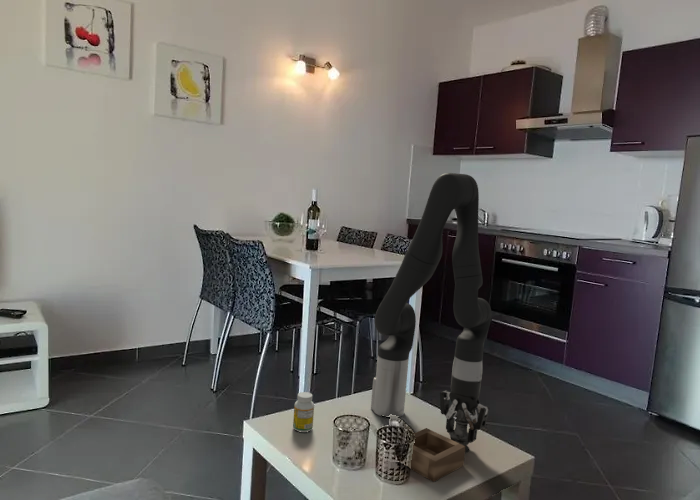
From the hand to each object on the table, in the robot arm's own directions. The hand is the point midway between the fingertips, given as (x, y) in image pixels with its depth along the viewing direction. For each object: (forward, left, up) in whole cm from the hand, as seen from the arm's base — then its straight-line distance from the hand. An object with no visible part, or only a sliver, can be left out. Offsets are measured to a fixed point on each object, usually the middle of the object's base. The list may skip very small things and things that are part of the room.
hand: (460, 436), depth 136 cm
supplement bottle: (-32, -27, -3) cm, 42 cm away
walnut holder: (0, -13, -3) cm, 13 cm away
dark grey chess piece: (0, 0, -3) cm, 3 cm away
